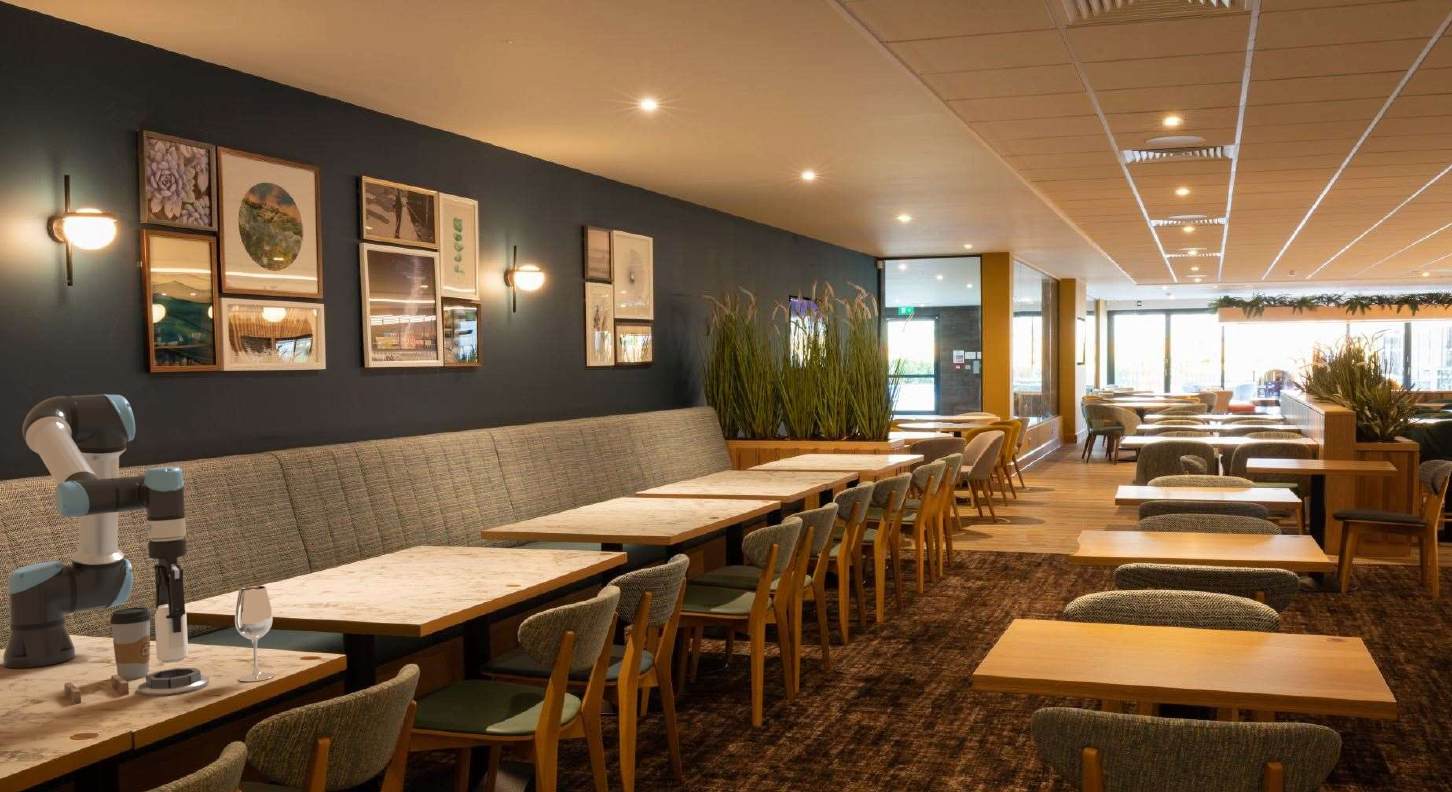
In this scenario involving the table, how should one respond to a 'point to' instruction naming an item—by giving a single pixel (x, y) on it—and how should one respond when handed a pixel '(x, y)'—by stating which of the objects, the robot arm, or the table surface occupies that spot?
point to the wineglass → (253, 623)
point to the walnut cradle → (117, 684)
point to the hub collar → (173, 682)
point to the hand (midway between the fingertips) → (172, 644)
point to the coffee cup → (131, 642)
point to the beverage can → (163, 637)
